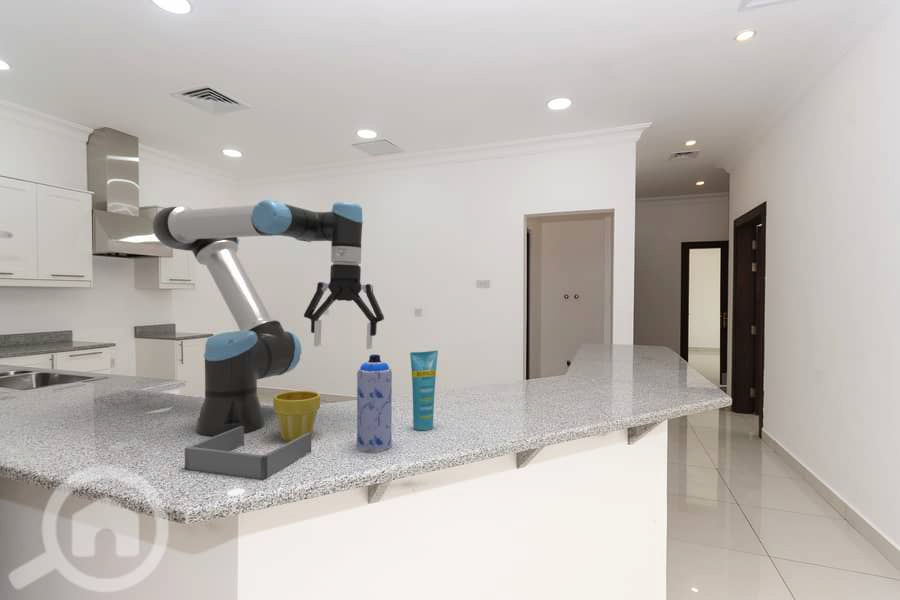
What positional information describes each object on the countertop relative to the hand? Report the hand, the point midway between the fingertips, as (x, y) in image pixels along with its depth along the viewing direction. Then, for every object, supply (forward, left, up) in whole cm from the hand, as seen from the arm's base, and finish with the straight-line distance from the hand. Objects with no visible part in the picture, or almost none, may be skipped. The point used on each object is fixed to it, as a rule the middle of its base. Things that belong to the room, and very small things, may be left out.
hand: (343, 347), depth 117 cm
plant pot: (-5, -13, -20) cm, 24 cm away
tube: (+21, +2, -20) cm, 29 cm away
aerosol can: (+15, -14, -20) cm, 28 cm away
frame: (-5, -28, -20) cm, 35 cm away
